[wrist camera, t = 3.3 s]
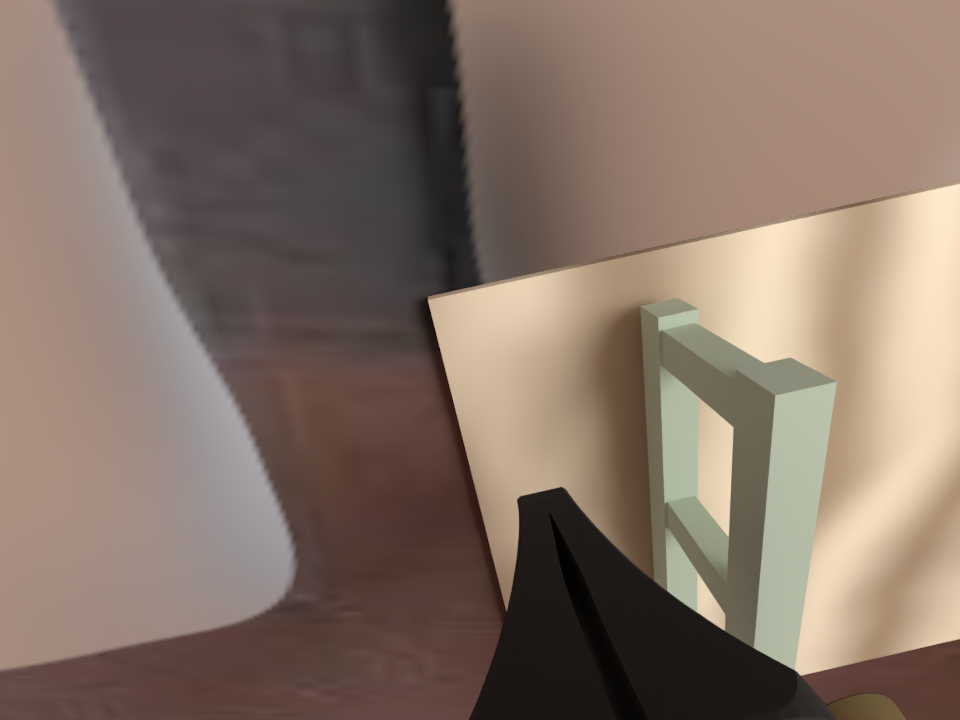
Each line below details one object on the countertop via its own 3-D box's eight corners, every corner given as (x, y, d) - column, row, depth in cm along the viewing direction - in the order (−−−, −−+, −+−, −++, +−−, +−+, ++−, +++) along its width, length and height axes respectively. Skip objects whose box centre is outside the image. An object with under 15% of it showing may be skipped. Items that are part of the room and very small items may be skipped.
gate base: (536, 727, 24) (578, 959, 17) (427, 296, 14) (424, 421, 7) (1008, 618, 24) (1242, 801, 17) (1219, 124, 14) (1955, 82, 7)
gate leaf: (682, 617, 20) (777, 787, 15) (656, 623, 20) (741, 795, 14) (677, 298, 14) (837, 381, 8) (640, 306, 14) (775, 395, 8)
